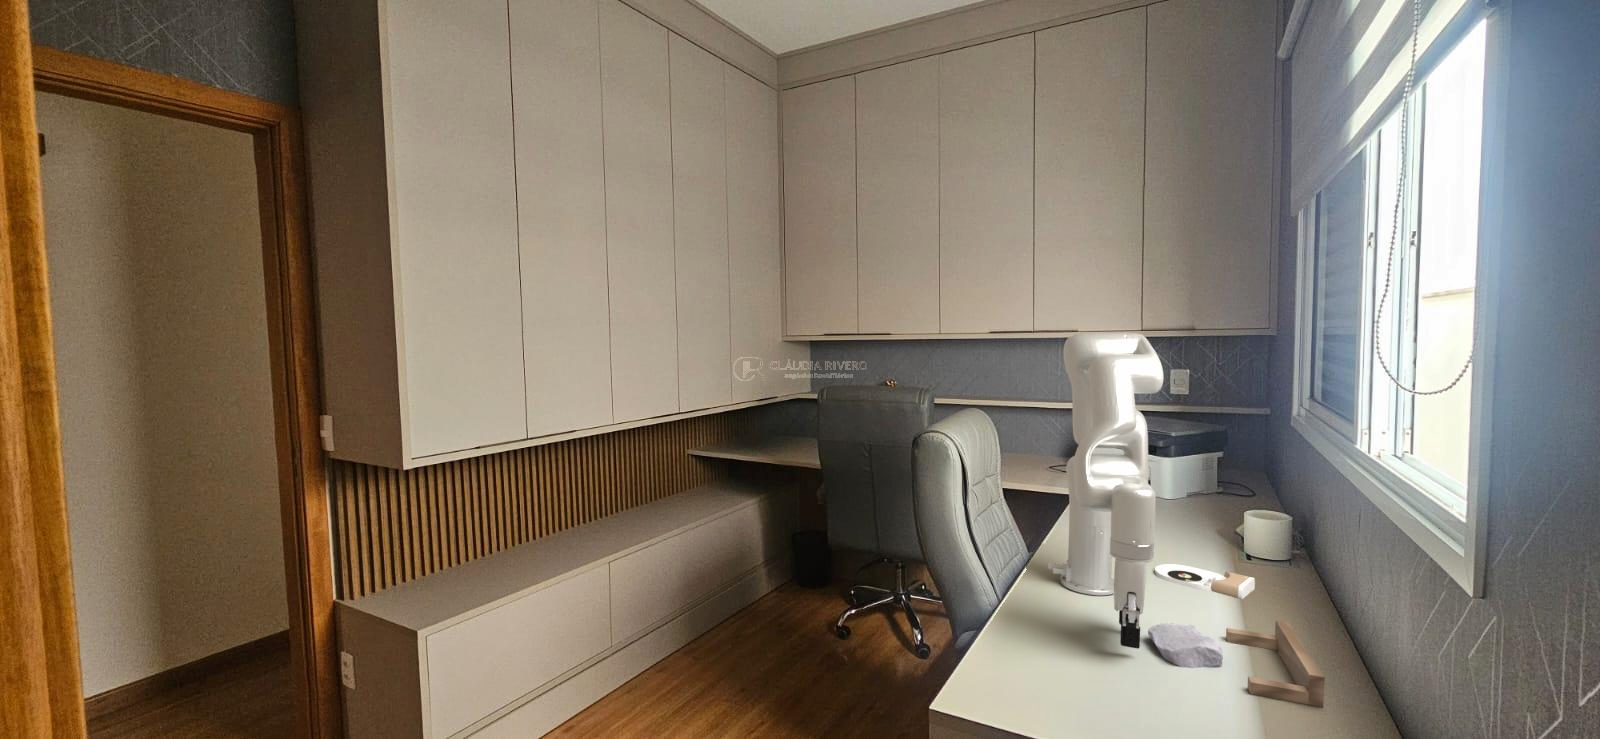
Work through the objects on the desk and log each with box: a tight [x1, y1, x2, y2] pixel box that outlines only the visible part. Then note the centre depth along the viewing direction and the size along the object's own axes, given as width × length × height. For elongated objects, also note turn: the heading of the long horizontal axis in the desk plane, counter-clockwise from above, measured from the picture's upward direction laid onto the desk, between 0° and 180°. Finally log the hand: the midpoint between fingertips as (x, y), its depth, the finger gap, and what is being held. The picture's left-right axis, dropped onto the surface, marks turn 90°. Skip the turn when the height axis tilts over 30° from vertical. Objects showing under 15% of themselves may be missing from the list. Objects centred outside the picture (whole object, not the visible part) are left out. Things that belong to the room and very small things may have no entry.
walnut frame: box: [1225, 620, 1326, 708], centre depth 120 cm, size 10×22×5 cm, turn 156°
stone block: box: [1147, 622, 1224, 669], centre depth 126 cm, size 12×5×10 cm
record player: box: [1154, 563, 1256, 600], centre depth 161 cm, size 12×3×20 cm
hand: (1128, 635), depth 129 cm, fingers open, 9 cm apart
